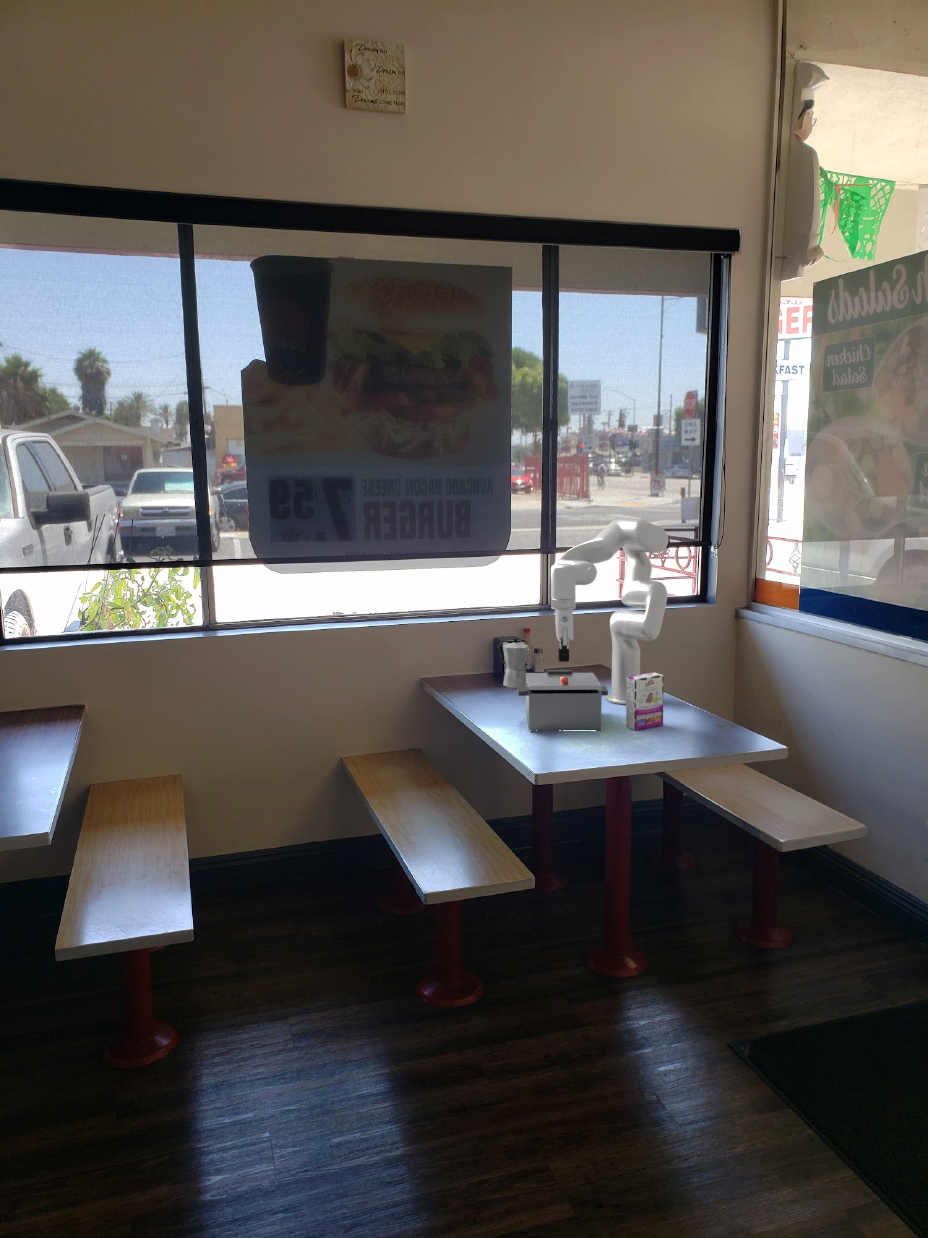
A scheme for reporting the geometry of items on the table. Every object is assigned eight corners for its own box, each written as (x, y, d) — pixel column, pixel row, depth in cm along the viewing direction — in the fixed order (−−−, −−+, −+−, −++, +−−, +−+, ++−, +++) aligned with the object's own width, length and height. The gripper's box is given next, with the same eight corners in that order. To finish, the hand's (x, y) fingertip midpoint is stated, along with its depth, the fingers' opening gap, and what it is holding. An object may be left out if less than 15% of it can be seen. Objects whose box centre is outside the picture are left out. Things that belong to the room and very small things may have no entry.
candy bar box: (653, 722, 284) (654, 671, 282) (663, 726, 280) (664, 674, 277) (624, 727, 279) (625, 675, 277) (634, 731, 275) (635, 679, 272)
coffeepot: (537, 686, 333) (537, 638, 330) (520, 690, 326) (520, 641, 323) (506, 679, 344) (506, 633, 341) (489, 683, 337) (489, 636, 334)
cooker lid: (593, 676, 295) (593, 666, 294) (601, 689, 273) (601, 679, 273) (525, 676, 295) (525, 667, 295) (529, 689, 274) (529, 679, 273)
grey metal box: (601, 712, 297) (602, 676, 295) (610, 731, 275) (611, 693, 273) (516, 712, 298) (516, 677, 296) (519, 731, 276) (519, 693, 274)
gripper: (577, 607, 272) (578, 666, 275) (573, 599, 286) (573, 655, 290) (553, 608, 272) (553, 667, 275) (549, 599, 286) (550, 655, 290)
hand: (563, 660), depth 282 cm, fingers closed
